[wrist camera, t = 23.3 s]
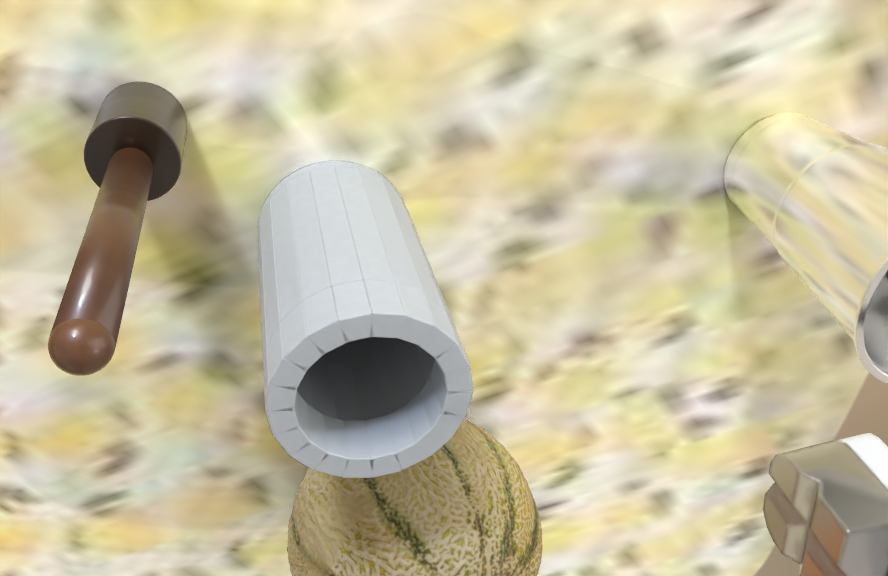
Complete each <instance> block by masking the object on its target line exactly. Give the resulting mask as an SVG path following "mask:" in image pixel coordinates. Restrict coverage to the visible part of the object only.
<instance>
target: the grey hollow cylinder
mask: <svg viewBox="0 0 888 576" xmlns="http://www.w3.org/2000/svg"><path fill="white" fill-rule="evenodd" d="M258 260H259V282H260V304H261V326H262V348H263V370H264V393H265V412H266V415H267V418H268V422H269V425H270V429H271V432H272V435H273V437H274V438H275V439H276V440H277V441H278V443H279V444H280V445H281V446H282V448H283V449H284V450H285V451H286V452H287V454H288V455H289V456H290V457H292V458H293V459H295V460H297V461H298V462H300V463H302V464H303V465H305V466H307V467H308V468H310V469H312V470H315V471H318V472H322V473H326V474H330V475H334V476H338V477H342V478H374V477H378V476H382V475H386V474H391V473H395V472H399V471H401V470H404V469H406V468H408V467H410V466H412V465H414V464H416V463H418V462H420V461H422V460H424V459H426V458H428V456H431V455H432V454H433V453H435V452H436V451H437V450H438V449H439V448H440V447H442V446H443V445H444V444H445V443H446V442H448V441H449V440H450V438H451V437H452V436H453V435H454V433H455V432H456V430H457V429H458V427H459V426H460V424H461V423H462V421H463V420H464V418H465V417H466V415H467V412H468V408H469V405H470V401H471V397H472V393H473V390H472V389H473V385H472V376H471V367H470V364H469V361H468V359H467V356H466V354H465V351H464V349H463V346H462V344H461V341H460V339H459V336H458V334H457V331H456V329H455V326H454V324H453V321H452V319H451V316H450V314H449V311H448V309H447V306H446V304H445V301H444V299H443V296H442V294H441V291H440V289H439V286H438V284H437V281H436V279H435V277H434V274H433V272H432V269H431V267H430V264H429V262H428V259H427V257H426V254H425V252H424V249H423V247H422V244H421V242H420V239H419V237H418V234H417V232H416V229H415V227H414V224H413V222H412V219H411V217H410V215H409V212H408V210H407V208H406V206H405V204H404V202H403V200H402V198H401V196H400V194H399V192H398V191H397V190H396V188H395V187H394V186H393V185H392V184H391V183H390V182H389V181H388V180H387V179H386V178H385V177H384V176H382V175H381V174H379V173H378V172H376V171H374V170H372V169H371V168H368V167H366V166H363V165H360V164H356V163H353V162H346V161H326V162H320V163H316V164H312V165H309V166H306V167H303V168H301V169H299V170H297V171H295V172H293V173H292V174H290V175H289V176H287V177H286V178H285V179H283V180H282V181H281V182H280V183H279V184H278V185H277V186H276V187H275V188H274V189H273V191H272V192H271V193H270V195H269V196H268V198H267V200H266V201H265V203H264V206H263V208H262V210H261V214H260V218H259V224H258Z"/></svg>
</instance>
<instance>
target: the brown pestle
mask: <svg viewBox="0 0 888 576" xmlns="http://www.w3.org/2000/svg"><path fill="white" fill-rule="evenodd" d="M186 132H187V120H186V115H185V112H184V110H183V108H182V106H181V104H180V103H179V102H178V100H177V99H176V98H175V97H174V96H173V95H172V94H171V93H170V92H168V91H167V90H165V89H163V88H162V87H160V86H157V85H155V84H151V83H146V82H131V83H127V84H124V85H121V86H119V87H117V88H115V89H114V90H113V91H111V92H110V93H109V94H108V95H107V97H106V98H105V100H104V102H103V104H102V106H101V108H100V110H99V113H98V115H97V118H96V120H95V122H94V125H93V127H92V129H91V132H90V134H89V136H88V139H87V141H86V144H85V149H84V161H85V165H86V169H87V171H88V173H89V175H90V177H91V178H92V180H93V181H94V182H95V183H96V184H97V185H98V186H99V187H100V190H99V193H98V196H97V199H96V202H95V205H94V208H93V211H92V214H91V216H90V219H89V222H88V225H87V228H86V231H85V234H84V237H83V240H82V243H81V246H80V249H79V252H78V255H77V258H76V260H75V263H74V266H73V269H72V272H71V275H70V278H69V281H68V284H67V287H66V290H65V293H64V296H63V299H62V302H61V304H60V307H59V310H58V313H57V316H56V319H55V322H54V325H53V328H52V331H51V334H50V337H49V342H48V350H49V354H50V357H51V359H52V360H53V362H54V363H55V364H56V365H57V367H58V368H60V369H61V370H62V371H64V372H66V373H69V374H72V375H89V374H93V373H95V372H97V371H99V370H101V369H102V368H104V367H105V366H106V365H107V364H108V362H109V361H110V360H111V358H112V356H113V354H114V351H115V347H116V342H117V337H118V333H119V328H120V324H121V319H122V314H123V310H124V305H125V301H126V296H127V291H128V287H129V282H130V278H131V273H132V268H133V264H134V259H135V254H136V250H137V245H138V241H139V236H140V231H141V227H142V222H143V218H144V213H145V208H146V204H147V201H150V200H153V199H156V198H159V197H160V196H162V195H164V194H165V193H167V192H168V191H169V190H170V189H171V188H172V187H173V186H174V185H175V183H176V182H177V180H178V178H179V175H180V171H181V166H182V159H183V152H184V146H185V139H186Z"/></svg>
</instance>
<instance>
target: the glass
mask: <svg viewBox="0 0 888 576" xmlns="http://www.w3.org/2000/svg"><path fill="white" fill-rule="evenodd" d="M724 186H725V190H726V193H727V195H728V197H729V199H730V200H731V201H732V203H733V204H734V205H735V206H737V207H738V208H739V209H740V210H741V212H742V213H743V214H744V215H745V216H746V217H747V218H748V219H749V220H750V221H751V223H752V224H753V225H754V226H755V227H756V228H757V229H758V230H759V231H760V232H761V234H762V235H763V236H764V237H765V238H766V239H767V240H768V241H769V242H770V243H771V245H772V246H773V247H774V248H775V249H776V250H777V251H778V253H779V254H780V256H781V258H782V259H783V260H784V262H785V263H786V264H787V265H788V266H789V267H790V268H791V270H792V271H793V272H794V273H795V274H796V275H797V276H798V278H799V279H800V280H801V281H802V282H803V283H804V284H805V286H806V287H807V288H808V289H809V290H810V291H811V292H812V293H813V295H814V296H815V297H816V298H817V299H818V300H819V301H820V303H821V304H822V305H823V306H824V307H825V308H826V309H827V311H828V312H829V313H830V314H831V315H832V316H833V317H834V319H835V320H836V321H837V322H838V323H839V324H840V325H841V327H842V328H843V329H844V330H845V331H846V332H847V333H848V335H849V336H850V337H851V338H852V339H853V340H854V344H855V349H856V352H857V355H858V357H859V360H860V361H861V363H862V365H863V366H864V367H865V368H866V369H867V371H868V372H870V373H871V374H872V375H873V376H874V377H876V378H877V379H879V380H880V381H882V382H884V383H887V384H888V148H886V147H883V146H880V145H876V144H871V143H869V142H866V141H864V140H861V139H859V138H857V137H854V136H852V135H849V134H847V133H845V132H842V131H840V130H837V129H835V128H833V127H830V126H828V125H825V124H823V123H821V122H818V121H816V120H813V119H811V118H809V117H808V116H806V115H803V114H800V113H794V112H785V113H779V114H775V115H772V116H769V117H767V118H764V119H763V120H761V121H759V122H757V123H756V124H754V125H753V126H752V127H750V128H749V129H748V130H747V131H746V132H745V133H744V134H743V135H742V136H741V137H740V138H739V140H738V141H737V142H736V144H735V145H734V147H733V148H732V150H731V152H730V154H729V156H728V159H727V162H726V165H725V170H724Z"/></svg>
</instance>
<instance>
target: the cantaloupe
mask: <svg viewBox="0 0 888 576" xmlns="http://www.w3.org/2000/svg"><path fill="white" fill-rule="evenodd" d="M287 551H288V558H289V563H290V571H291V573H292V576H537V574H538V571H539V567H540V564H541V557H542V529H541V521H540V516H539V513H538V510H537V507H536V504H535V501H534V499H533V496H532V493H531V491H530V489H529V486H528V484H527V481H526V479H525V477H524V475H523V473H522V471H521V469H520V467H519V465H518V464H517V462H516V461H515V460H514V459H513V458H512V456H511V455H510V454H509V453H508V451H507V450H506V449H505V448H504V446H503V445H502V444H500V443H499V442H498V441H497V440H496V439H495V438H494V437H493V436H491V435H490V434H489V433H488V432H486V431H485V430H484V429H482V428H480V427H478V426H476V425H474V424H472V423H470V422H469V421H467V420H465V419H464V420H463V421H462V423H461V424H460V426H459V427H458V429H457V430H456V432H455V433H454V435H453V436H452V437H451V438H450V440H449V441H448V442H446V443H445V444H444V445H443V446H442V447H440V448H439V449H438V450H437V451H436V452H435V453H433V454H432V455H431V456H428V458H426V459H424V460H422V461H420V462H418V463H416V464H414V465H412V466H410V467H408V468H406V469H404V470H401V471H399V472H395V473H391V474H386V475H382V476H378V477H374V478H342V477H338V476H334V475H330V474H326V473H322V472H318V471H315V470H312V469H310V468H308V470H307V472H306V474H305V477H304V479H303V480H302V482H301V483H300V486H299V488H298V491H297V493H296V497H295V502H294V507H293V511H292V515H291V518H290V520H289V530H288V547H287Z"/></svg>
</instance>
